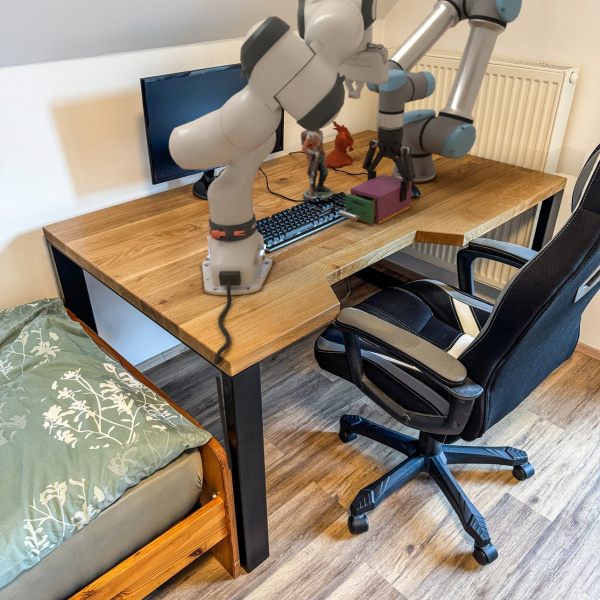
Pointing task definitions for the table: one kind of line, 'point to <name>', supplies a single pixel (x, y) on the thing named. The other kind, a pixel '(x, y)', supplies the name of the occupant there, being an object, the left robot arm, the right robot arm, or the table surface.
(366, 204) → the drawer
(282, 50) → the left robot arm
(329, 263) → the table surface
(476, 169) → the table surface
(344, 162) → the toy
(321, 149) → the figurine
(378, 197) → the cabinet
